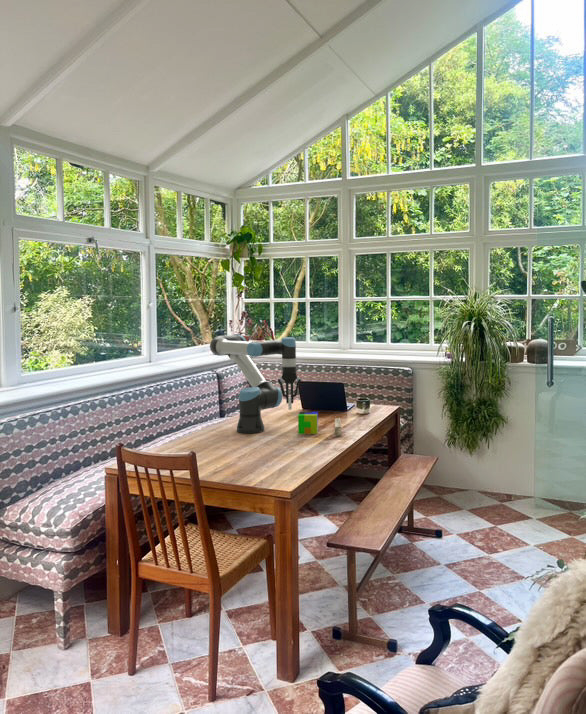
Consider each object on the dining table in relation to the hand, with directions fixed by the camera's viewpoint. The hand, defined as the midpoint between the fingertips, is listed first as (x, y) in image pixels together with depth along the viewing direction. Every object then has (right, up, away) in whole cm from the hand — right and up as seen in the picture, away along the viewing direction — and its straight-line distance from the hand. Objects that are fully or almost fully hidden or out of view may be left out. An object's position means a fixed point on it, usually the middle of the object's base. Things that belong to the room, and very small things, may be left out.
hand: (290, 409), depth 338 cm
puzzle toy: (+10, -12, +1) cm, 16 cm away
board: (+26, -12, 0) cm, 29 cm away
